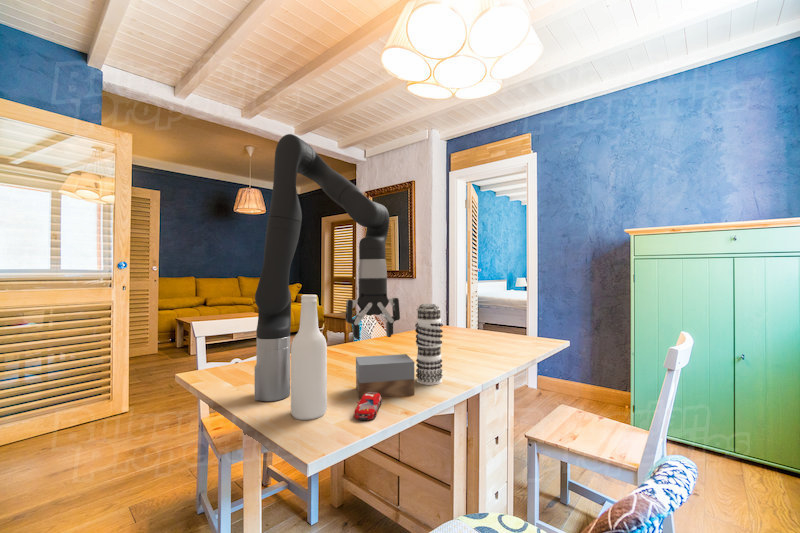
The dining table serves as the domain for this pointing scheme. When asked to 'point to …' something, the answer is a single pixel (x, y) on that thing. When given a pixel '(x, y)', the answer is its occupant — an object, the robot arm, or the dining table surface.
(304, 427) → the dining table surface
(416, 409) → the dining table surface
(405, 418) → the dining table surface
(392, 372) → the top block
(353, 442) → the dining table surface
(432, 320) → the decorative candle
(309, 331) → the white bottle
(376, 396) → the race car
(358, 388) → the bottom block
